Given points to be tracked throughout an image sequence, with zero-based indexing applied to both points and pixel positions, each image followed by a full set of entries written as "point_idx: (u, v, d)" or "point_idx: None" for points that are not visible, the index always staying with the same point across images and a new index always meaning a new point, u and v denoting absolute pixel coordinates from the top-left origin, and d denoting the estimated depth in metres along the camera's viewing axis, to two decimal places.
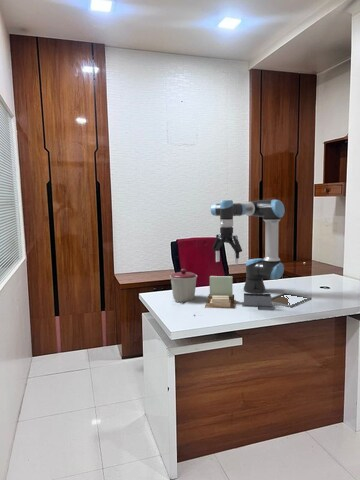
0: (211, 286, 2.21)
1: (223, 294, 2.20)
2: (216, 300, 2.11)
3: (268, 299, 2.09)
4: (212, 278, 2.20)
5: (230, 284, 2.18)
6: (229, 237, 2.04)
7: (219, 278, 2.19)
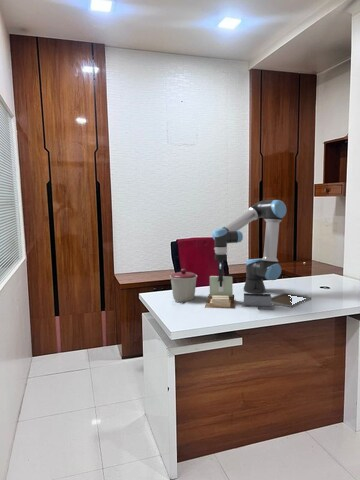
0: (211, 286, 2.21)
1: (223, 294, 2.20)
2: (216, 300, 2.11)
3: (268, 299, 2.09)
4: (212, 278, 2.20)
5: (230, 284, 2.18)
6: (218, 263, 2.17)
7: None
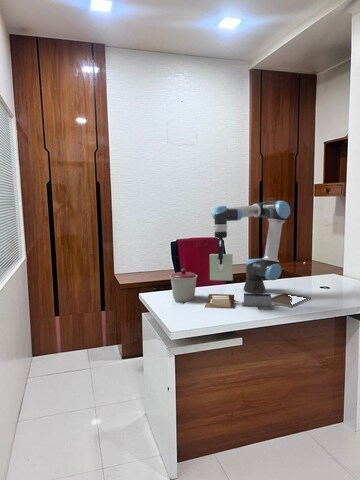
0: (211, 264, 2.19)
1: (224, 272, 2.19)
2: (216, 300, 2.11)
3: (268, 299, 2.09)
4: (212, 256, 2.19)
5: (230, 262, 2.17)
6: (218, 241, 2.16)
7: None
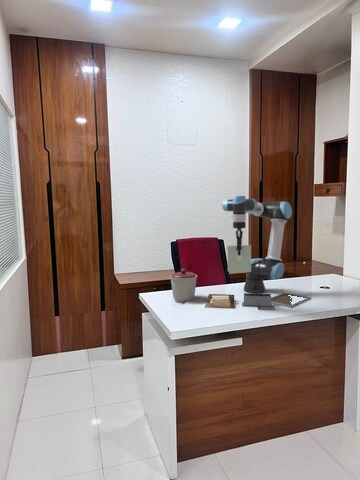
0: (229, 255, 2.15)
1: (242, 263, 2.14)
2: (216, 300, 2.11)
3: (268, 299, 2.09)
4: (230, 247, 2.14)
5: (249, 253, 2.12)
6: (237, 231, 2.11)
7: None
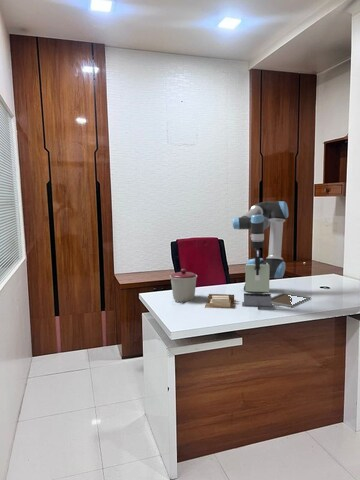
0: (247, 275, 2.12)
1: (260, 283, 2.11)
2: (216, 300, 2.11)
3: (268, 299, 2.09)
4: (248, 266, 2.11)
5: (267, 272, 2.10)
6: (255, 251, 2.08)
7: None
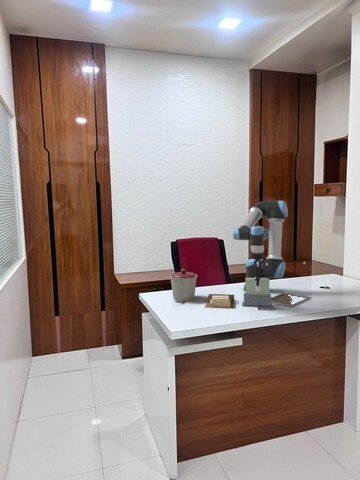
0: (247, 288, 2.13)
1: None
2: (216, 300, 2.11)
3: (268, 299, 2.09)
4: (248, 280, 2.12)
5: (267, 286, 2.11)
6: (255, 262, 2.09)
7: None
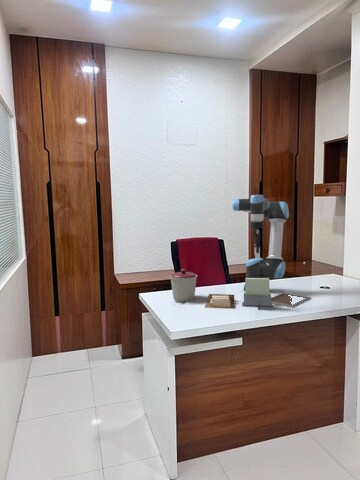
0: (247, 288, 2.13)
1: None
2: (216, 300, 2.11)
3: (268, 299, 2.09)
4: (248, 280, 2.12)
5: (267, 286, 2.11)
6: (255, 231, 2.08)
7: (255, 280, 2.12)
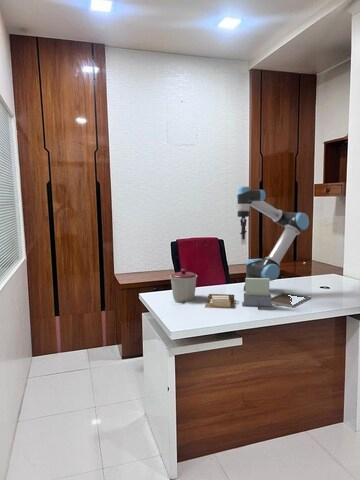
0: (247, 288, 2.13)
1: None
2: (216, 300, 2.11)
3: (268, 299, 2.09)
4: (248, 280, 2.12)
5: (267, 286, 2.11)
6: (241, 220, 2.27)
7: (255, 280, 2.12)
